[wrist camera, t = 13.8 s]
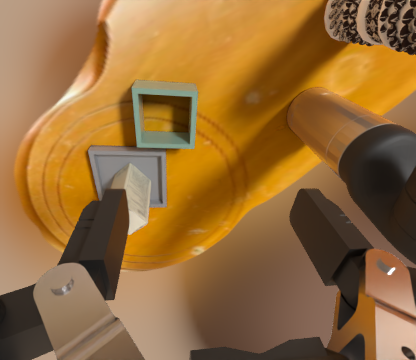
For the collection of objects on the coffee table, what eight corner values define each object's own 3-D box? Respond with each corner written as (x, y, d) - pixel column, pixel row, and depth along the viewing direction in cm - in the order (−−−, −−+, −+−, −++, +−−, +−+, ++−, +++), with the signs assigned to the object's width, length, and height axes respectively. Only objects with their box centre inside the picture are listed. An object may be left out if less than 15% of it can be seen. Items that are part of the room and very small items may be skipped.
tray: (165, 147, 45) (165, 152, 44) (166, 201, 53) (166, 207, 51) (91, 145, 43) (87, 150, 42) (103, 201, 51) (100, 207, 49)
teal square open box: (195, 83, 39) (197, 91, 35) (192, 136, 45) (194, 148, 41) (136, 79, 38) (131, 87, 34) (140, 134, 43) (137, 147, 39)
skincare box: (114, 173, 47) (99, 216, 37) (130, 161, 45) (119, 201, 36) (137, 192, 50) (129, 236, 40) (153, 181, 49) (148, 223, 39)
